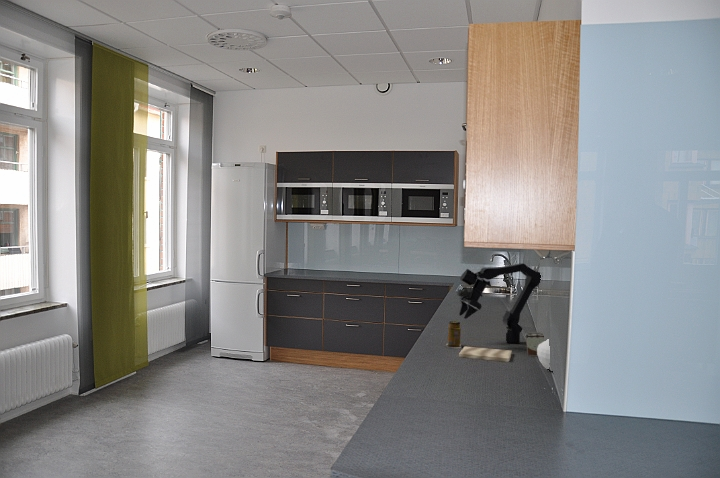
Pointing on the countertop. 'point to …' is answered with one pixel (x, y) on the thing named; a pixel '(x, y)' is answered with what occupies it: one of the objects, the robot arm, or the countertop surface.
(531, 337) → the food container
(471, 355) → the birch board
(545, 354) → the vase
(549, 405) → the countertop surface
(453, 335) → the condiment
